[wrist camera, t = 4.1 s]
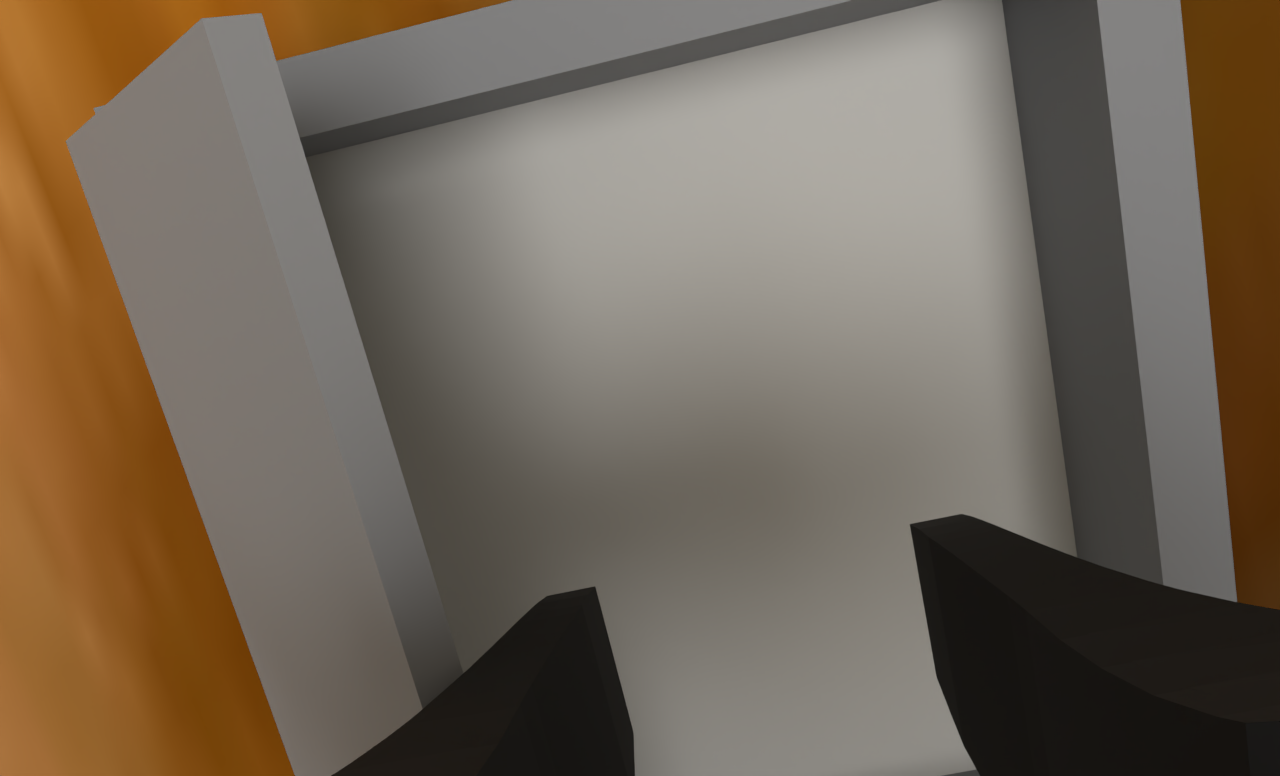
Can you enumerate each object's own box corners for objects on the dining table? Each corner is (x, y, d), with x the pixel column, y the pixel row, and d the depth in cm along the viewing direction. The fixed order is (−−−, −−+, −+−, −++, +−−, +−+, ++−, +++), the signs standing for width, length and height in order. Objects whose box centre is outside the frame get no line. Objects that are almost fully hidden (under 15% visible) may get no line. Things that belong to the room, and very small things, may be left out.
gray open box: (1041, -89, 15) (1164, -168, 12) (1146, 762, 19) (1266, 919, 15) (228, 117, 17) (93, 108, 13) (473, 880, 20) (425, 1053, 16)
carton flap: (260, 13, 8) (202, 18, 8) (661, 1321, 12) (631, 1361, 11) (107, 134, 13) (65, 141, 12) (426, 1045, 16) (399, 1067, 16)
